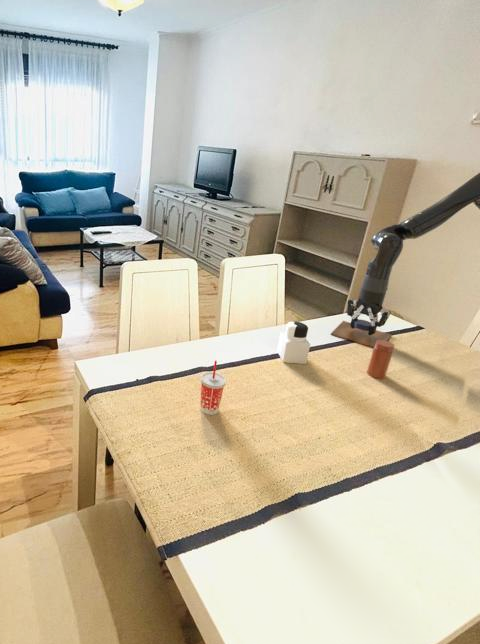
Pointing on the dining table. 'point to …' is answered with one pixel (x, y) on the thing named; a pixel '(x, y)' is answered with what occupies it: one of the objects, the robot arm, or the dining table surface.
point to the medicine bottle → (294, 343)
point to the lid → (362, 324)
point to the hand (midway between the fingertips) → (361, 331)
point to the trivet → (359, 335)
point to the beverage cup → (211, 391)
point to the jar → (380, 359)
